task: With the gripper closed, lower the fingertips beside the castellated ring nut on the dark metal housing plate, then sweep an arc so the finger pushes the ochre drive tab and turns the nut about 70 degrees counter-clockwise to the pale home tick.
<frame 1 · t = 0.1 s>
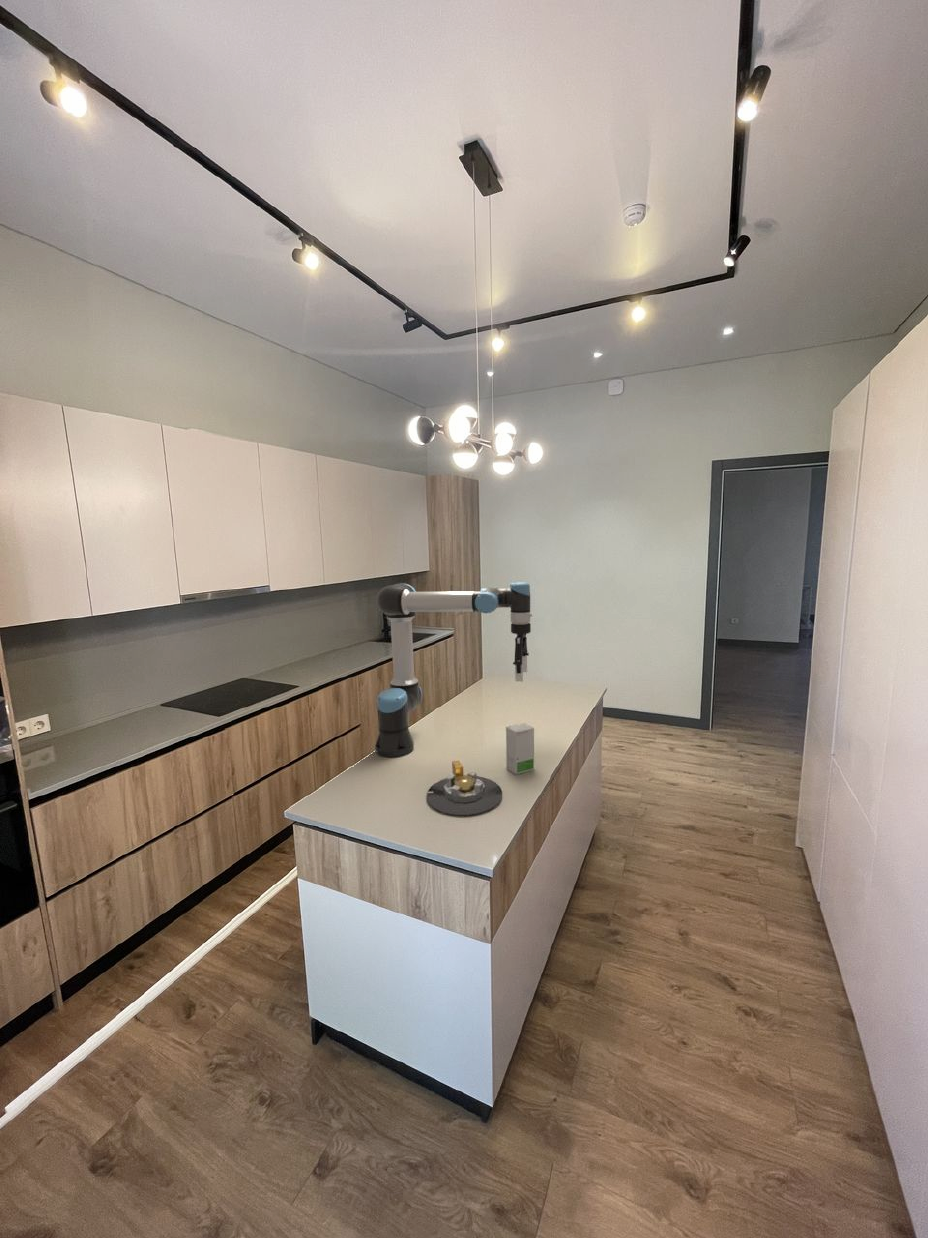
hand: (521, 676, 187), 28 cm above the worktop, fingers open, 13 cm apart
housing: (464, 795, 153), on the worktop
skincare box: (520, 769, 171), on the worktop
ring nut: (462, 780, 155), point 4 cm above the worktop, hinge at 0.0°
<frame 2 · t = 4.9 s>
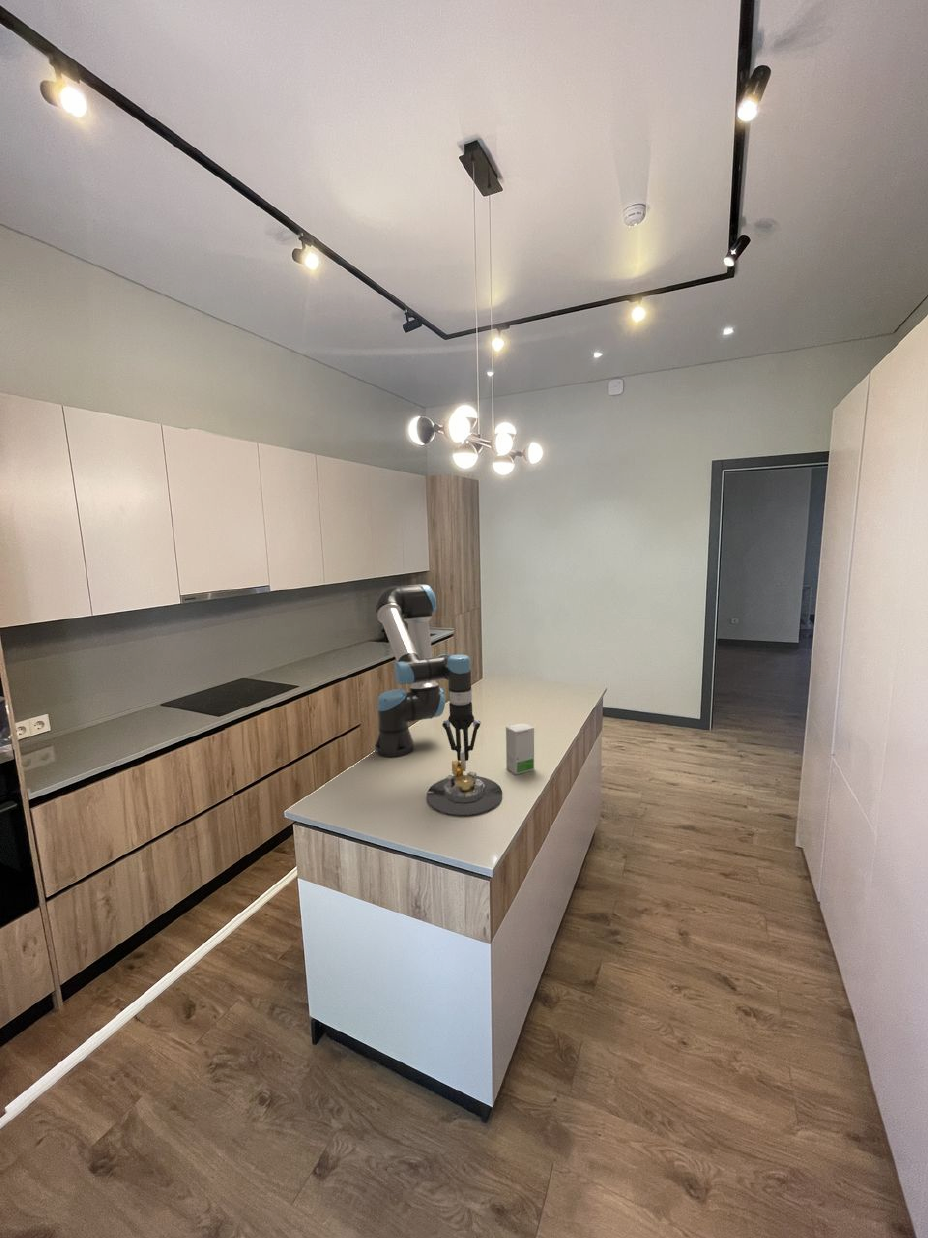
hand: (463, 769, 162), 5 cm above the worktop, fingers closed
ring nut: (462, 780, 155), point 4 cm above the worktop, hinge at 0.5°, touching gripper
everything else where it was.
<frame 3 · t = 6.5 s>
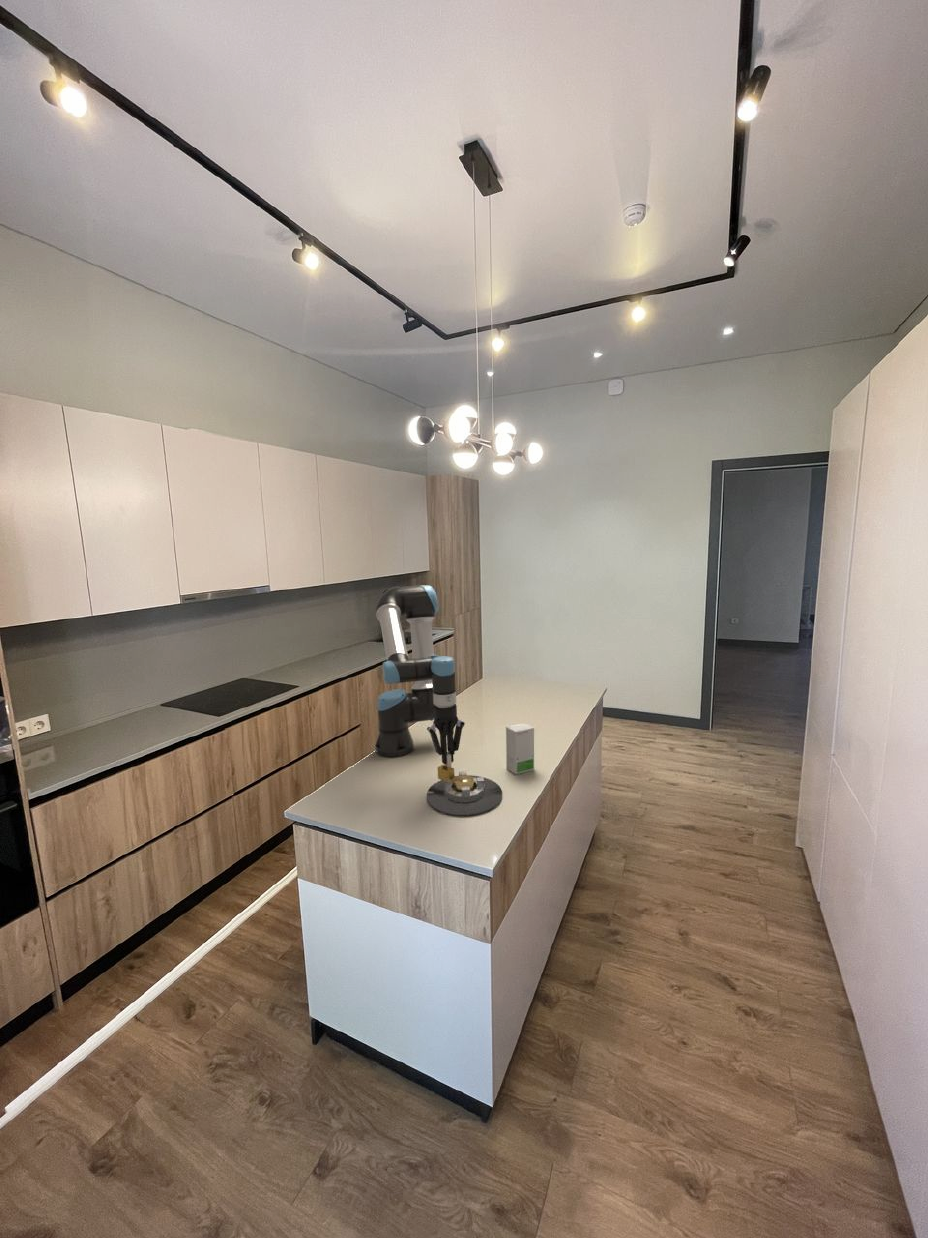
hand: (448, 771, 160), 5 cm above the worktop, fingers closed
ring nut: (459, 781, 154), point 4 cm above the worktop, hinge at 34.3°, touching gripper
everything else where it was.
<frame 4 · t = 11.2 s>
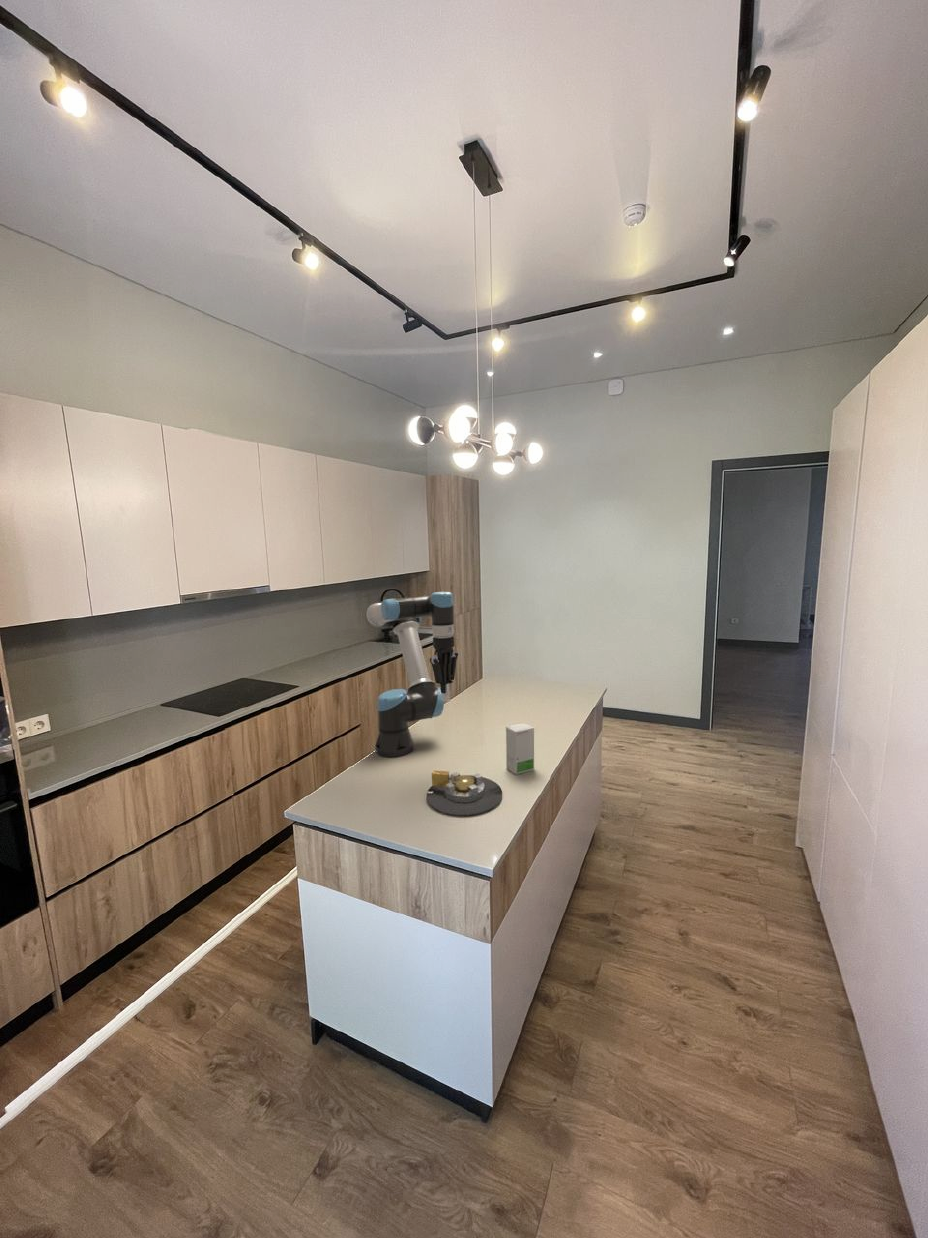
hand: (446, 701, 172), 24 cm above the worktop, fingers closed
ring nut: (458, 782, 153), point 4 cm above the worktop, hinge at 61.9°
everything else where it was.
at the end: ring nut at +62° (first picture: +0°); ring nut touching nothing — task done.
